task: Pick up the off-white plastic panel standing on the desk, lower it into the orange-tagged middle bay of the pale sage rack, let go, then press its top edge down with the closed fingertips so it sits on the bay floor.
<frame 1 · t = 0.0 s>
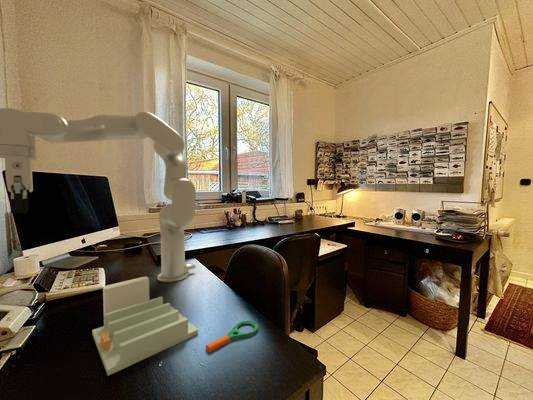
hand: (20, 211, 69), 31 cm above the table, tool pointing down, fingers open, 9 cm apart
rack: (145, 334, 62), on the table
panel: (127, 310, 74), on the table
magnifying glass: (233, 339, 61), on the table
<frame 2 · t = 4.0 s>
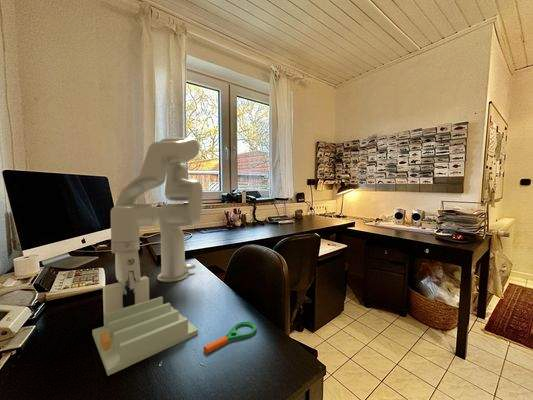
hand: (127, 303, 74), 2 cm above the table, tool pointing down, fingers closed on panel, 3 cm apart
panel: (127, 310, 74), on the table, touching gripper
when the fingers open (6 cm above the table, at t = 9.8 s): panel drops 1 cm, resting on rack.
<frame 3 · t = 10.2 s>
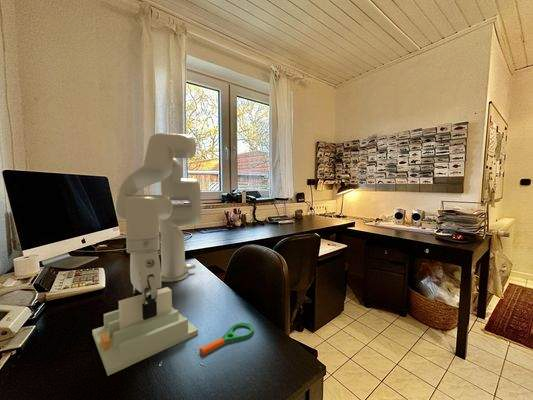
hand: (144, 311, 61), 6 cm above the table, tool pointing down, fingers open, 7 cm apart
panel: (147, 328, 62), point 1 cm above the table, touching rack
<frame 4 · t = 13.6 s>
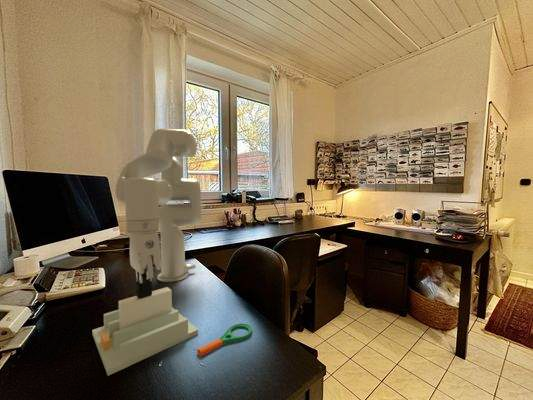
hand: (144, 296, 61), 10 cm above the table, tool pointing down, fingers closed
panel: (147, 328, 62), point 1 cm above the table, touching gripper, rack
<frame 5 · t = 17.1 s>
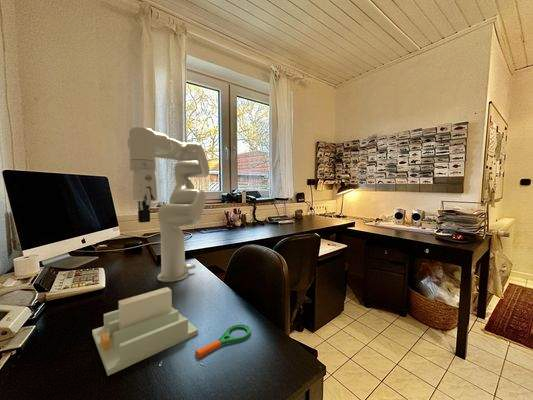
hand: (144, 221, 78), 27 cm above the table, tool pointing down, fingers closed
panel: (147, 328, 62), point 1 cm above the table, touching rack
at the end: panel 0.5 cm off-centre on the rack, point 1.2 cm above the rack's base; panel tilted 0°; the gripper is holding nothing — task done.
